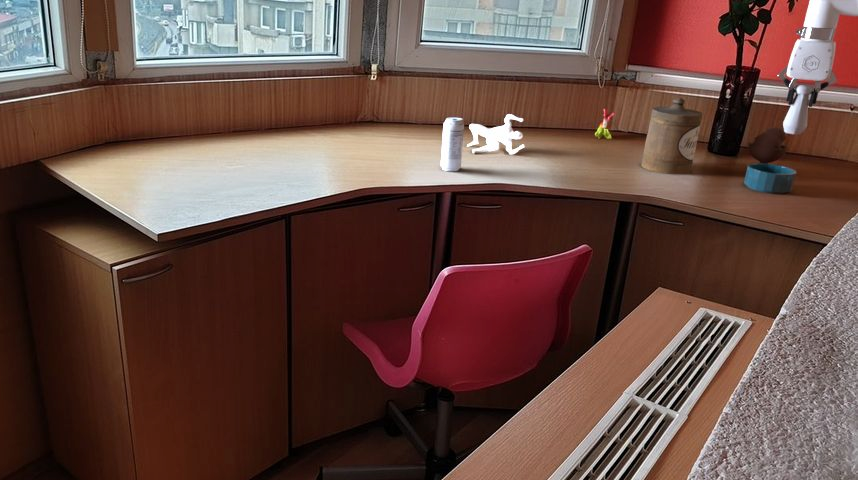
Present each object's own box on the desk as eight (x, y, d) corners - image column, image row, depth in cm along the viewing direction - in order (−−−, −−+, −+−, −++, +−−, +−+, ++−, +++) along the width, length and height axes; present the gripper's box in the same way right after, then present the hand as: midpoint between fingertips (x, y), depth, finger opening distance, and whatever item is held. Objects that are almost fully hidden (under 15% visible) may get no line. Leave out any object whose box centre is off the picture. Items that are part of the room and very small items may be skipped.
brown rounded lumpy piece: (752, 169, 230) (763, 122, 225) (787, 177, 222) (799, 129, 216) (734, 173, 224) (745, 125, 219) (769, 181, 216) (782, 132, 210)
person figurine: (467, 119, 230) (523, 112, 229) (463, 121, 243) (516, 113, 242) (471, 160, 232) (527, 152, 231) (468, 159, 245) (520, 152, 244)
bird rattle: (591, 141, 269) (595, 136, 260) (595, 112, 270) (598, 106, 261) (609, 143, 268) (612, 138, 259) (612, 113, 269) (616, 107, 260)
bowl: (790, 187, 211) (796, 167, 209) (791, 197, 200) (797, 176, 198) (744, 180, 216) (748, 161, 214) (742, 190, 205) (747, 169, 203)
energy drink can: (454, 166, 217) (458, 116, 212) (464, 171, 212) (468, 120, 207) (436, 167, 215) (440, 117, 209) (446, 172, 210) (449, 121, 204)
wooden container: (689, 177, 217) (704, 104, 208) (638, 170, 222) (651, 98, 214) (692, 167, 229) (706, 97, 221) (644, 160, 235) (656, 92, 227)
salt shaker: (799, 136, 194) (812, 87, 189) (777, 132, 198) (789, 84, 193) (807, 133, 197) (820, 85, 193) (785, 129, 201) (797, 82, 196)
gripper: (782, 33, 188) (765, 103, 195) (856, 38, 181) (836, 110, 188) (781, 32, 194) (765, 100, 201) (853, 36, 188) (834, 107, 194)
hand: (800, 104), depth 195 cm, fingers closed on salt shaker, 4 cm apart
